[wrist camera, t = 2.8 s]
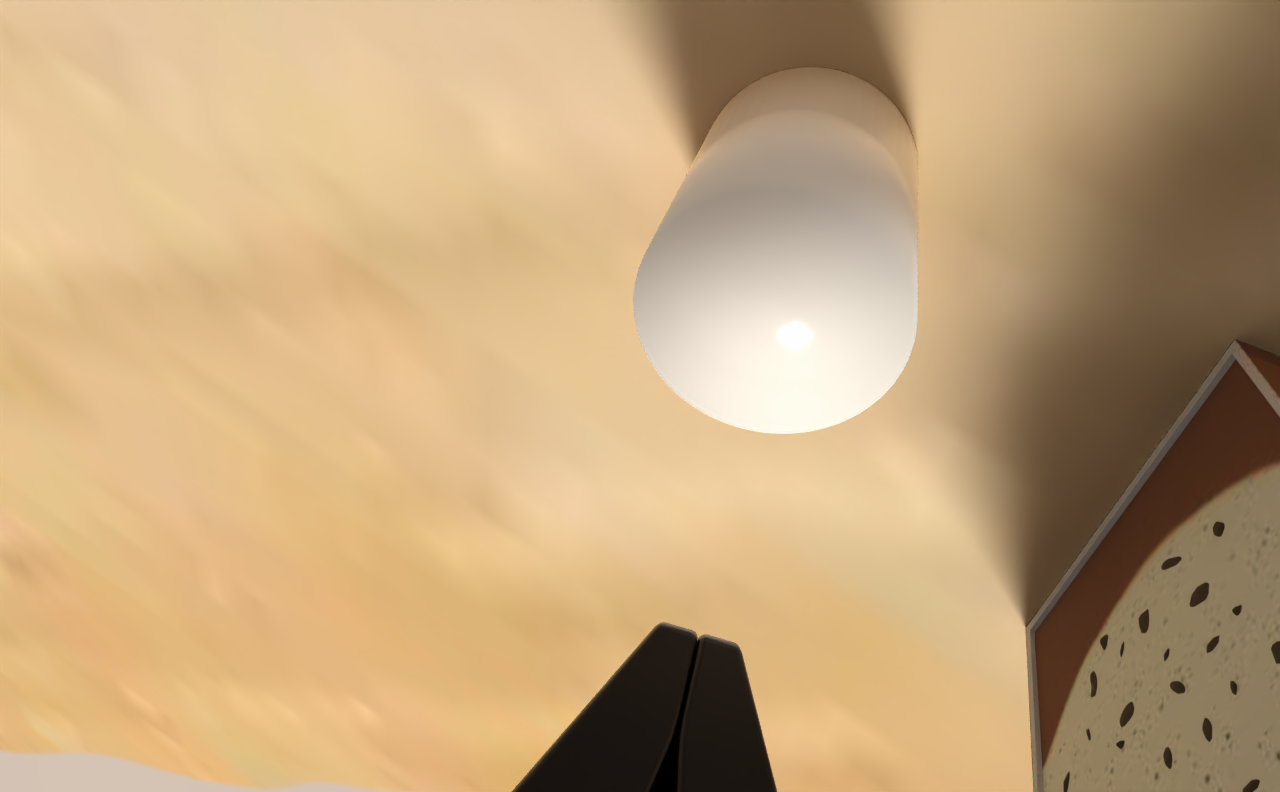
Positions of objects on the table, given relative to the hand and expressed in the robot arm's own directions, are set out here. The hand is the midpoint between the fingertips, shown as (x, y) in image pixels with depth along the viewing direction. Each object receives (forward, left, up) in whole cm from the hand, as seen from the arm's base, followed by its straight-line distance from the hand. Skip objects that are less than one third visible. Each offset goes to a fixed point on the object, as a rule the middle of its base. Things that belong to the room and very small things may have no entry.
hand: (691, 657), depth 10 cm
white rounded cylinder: (0, 0, -13) cm, 13 cm away
